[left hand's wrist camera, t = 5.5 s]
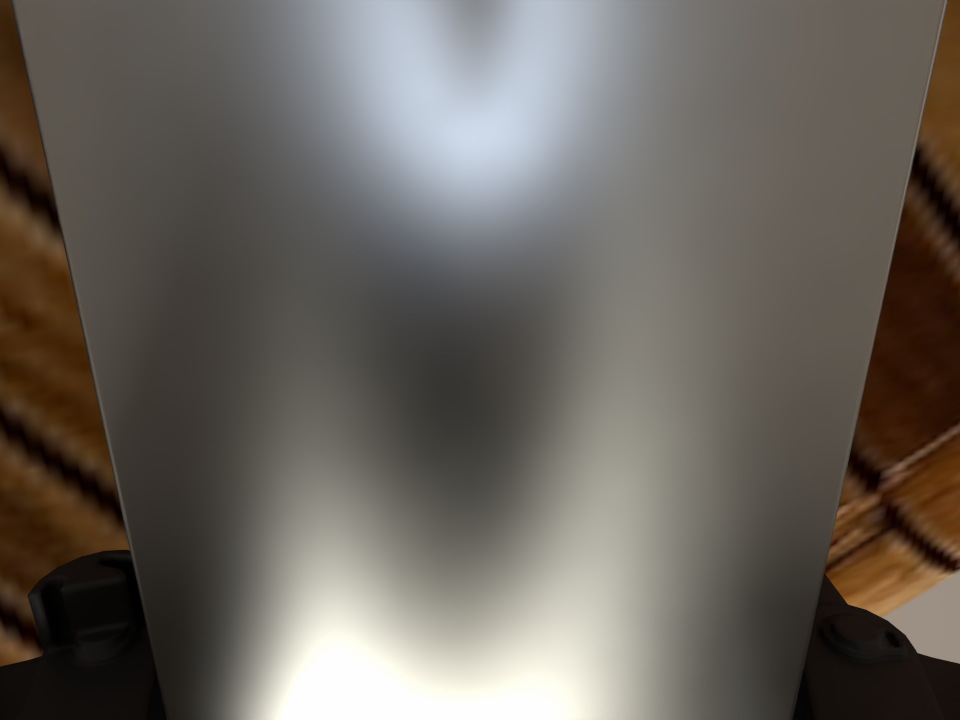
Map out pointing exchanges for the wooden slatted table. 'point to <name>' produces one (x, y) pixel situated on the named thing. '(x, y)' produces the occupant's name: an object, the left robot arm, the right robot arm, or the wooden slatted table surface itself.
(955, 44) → the wooden slatted table surface
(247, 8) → the bar
